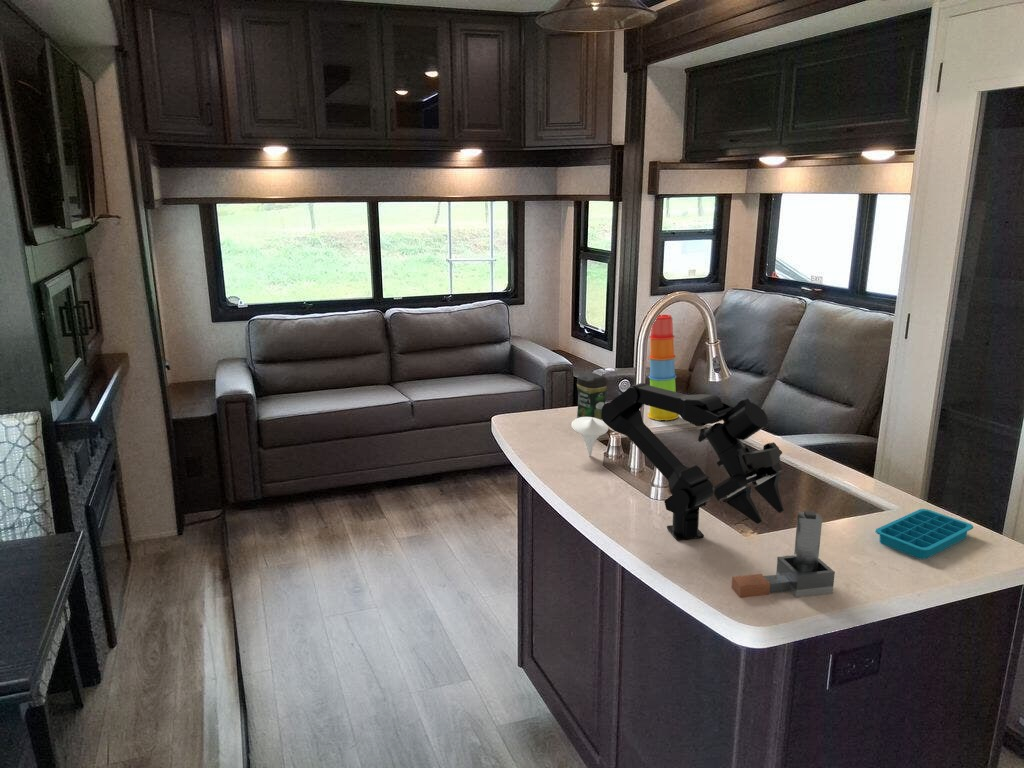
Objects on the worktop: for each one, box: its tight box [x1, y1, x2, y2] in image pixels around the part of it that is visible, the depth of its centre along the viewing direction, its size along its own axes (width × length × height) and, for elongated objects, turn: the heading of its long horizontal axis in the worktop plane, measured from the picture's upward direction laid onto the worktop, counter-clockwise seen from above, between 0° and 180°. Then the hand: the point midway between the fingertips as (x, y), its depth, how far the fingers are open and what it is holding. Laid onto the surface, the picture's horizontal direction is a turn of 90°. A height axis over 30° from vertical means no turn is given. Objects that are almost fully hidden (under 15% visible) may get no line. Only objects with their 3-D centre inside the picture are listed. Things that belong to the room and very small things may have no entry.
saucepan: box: [731, 554, 836, 598], centre depth 145 cm, size 8×18×4 cm, turn 99°
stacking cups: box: [647, 314, 680, 421], centre depth 249 cm, size 10×10×35 cm
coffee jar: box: [576, 371, 608, 421], centre depth 240 cm, size 10×8×19 cm
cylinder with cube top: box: [793, 510, 823, 574], centre depth 144 cm, size 4×4×14 cm
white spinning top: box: [571, 417, 609, 457], centre depth 217 cm, size 10×11×12 cm
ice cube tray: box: [875, 508, 974, 560], centre depth 163 cm, size 12×20×3 cm, turn 123°
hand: (770, 517), depth 150 cm, fingers open, 9 cm apart
